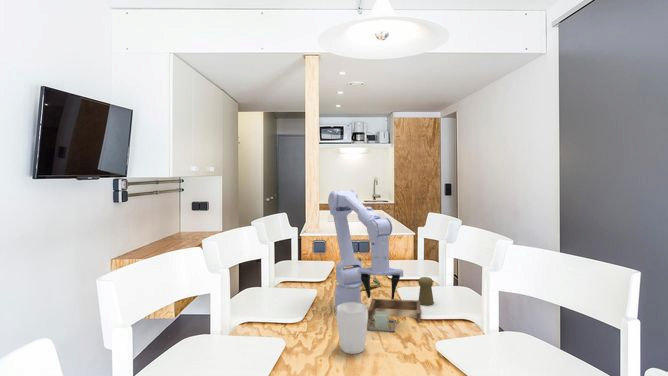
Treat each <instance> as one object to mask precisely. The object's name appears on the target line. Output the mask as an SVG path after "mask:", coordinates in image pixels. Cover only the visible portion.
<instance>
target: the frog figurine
mask: <svg viewBox="0 0 668 376" xmlns="http://www.w3.org/2000/svg"><path fill="white" fill-rule="evenodd" d="M358 260H359V261H361V262H362V257H361V256H359V257H358ZM362 267H363V268H365V267H364V266H363V265H362ZM370 279H372V277H371V276H370ZM380 287H382V284H381V283H380V281H379V280H378V279H377V278H373V280H372V281H370V288H380ZM361 291H366V289H365V286H364V284H363V282H362V285H361Z"/></svg>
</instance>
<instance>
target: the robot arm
mask: <svg viewBox="0 0 668 376" xmlns="http://www.w3.org/2000/svg"><path fill="white" fill-rule="evenodd" d="M327 202H328V203H327V204H328V207H329V208H328V209H329V214H330V215H332V217H333V221H334V228H335V233H336V238H337V245H338V248H339V254H340V255H339V256H340V261H339V262H338V263H337V264H336V265H335V280H336V282H337V284H336V285H335V289H334V312H336V313H337V306H338V305H340V304H342V303H347V302H357V303H362V292H361V291H362V290H361V285H362V282H363V284H364V286H365V291H366V296H367V297H366V298H367V299H370V298H371V296H372V295H371V294H372V293H371V287H370V282H371V278H370V277H371V276H383V277H391V279H390V280H391V281H390V282H391V294H390V295H391V299H394V300H395V292H396V289H397V286H398V283H399V282H400V278H403V277H404V269H400V268H393V267H392V268H391V267H390V243H389V242H390V241H389V239H390V238H389V236H390V235H391V234H392V233H393V224H392V222H391V220H390V218H389V217H381V216H380V215H379V214H378V213H377V212H376V211H374V209H373V207H372V206H365V205H364V204H363V203H362V202H361V200H360V199H359V195H358V193H357V192H356V191H355V190H354V189H351V190H343V191H340V190H339V191H338V190H337V191H334V190H333V191H331V192H330V193H329V195H328V199H327ZM352 212H354V213H355V214H357V218H358V221H360V223H361V224H363V225H364V227H366V231H367V235H368V241H369V243H370V256H371V257H370V259H371V260H370V261H371V262H370V263H371V264H370V265H371V266H370V267H364V266H363V264H362V260H361V261H359V258H356V257H355V252H354V247H353V243H352V242H353V241H352V237H351V232H350V231H351V230H350V225H349V222H348V221H349V220H348V215H350V214H351V213H352ZM362 266H363V267H364V268H363V267H362Z"/></svg>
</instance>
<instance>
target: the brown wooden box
mask: <svg viewBox="0 0 668 376" xmlns="http://www.w3.org/2000/svg"><path fill="white" fill-rule="evenodd" d="M421 309H422V305H420V301H418V300H413V299H411V300H410V299H395V298H394V299H392V298H391V299H389V298H372V299H371V301H370V304H369V307H368V308H367V313H368V320H370V319H374V316H375V313H376V311H383V312H388V316H389V317H396V318H397V317H398V318H400V317H401V318H413V319H414V318H415V319H416V323H421V322H422V321H421V313H422V312H421V311H422V310H421Z"/></svg>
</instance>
